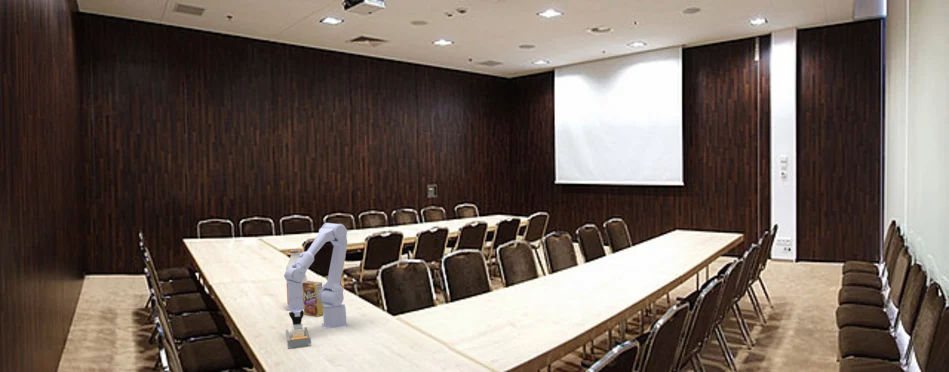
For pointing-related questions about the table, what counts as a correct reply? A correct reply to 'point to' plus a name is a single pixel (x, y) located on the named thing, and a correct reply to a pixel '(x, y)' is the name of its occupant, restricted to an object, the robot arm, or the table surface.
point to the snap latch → (298, 338)
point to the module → (297, 330)
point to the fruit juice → (293, 258)
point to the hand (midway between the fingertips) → (297, 329)
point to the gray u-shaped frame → (298, 340)
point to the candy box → (312, 298)
